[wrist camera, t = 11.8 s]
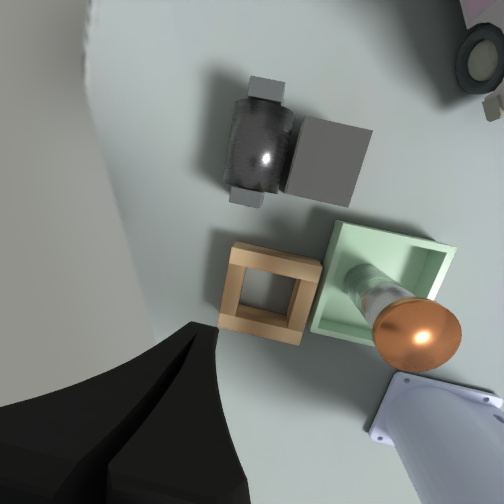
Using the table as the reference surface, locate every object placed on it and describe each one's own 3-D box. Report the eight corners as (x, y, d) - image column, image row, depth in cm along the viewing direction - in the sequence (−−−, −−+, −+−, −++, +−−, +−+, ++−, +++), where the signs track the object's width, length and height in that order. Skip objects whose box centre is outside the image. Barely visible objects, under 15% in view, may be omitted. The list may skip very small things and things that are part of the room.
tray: (436, 241, 19) (457, 247, 16) (395, 338, 21) (408, 355, 19) (335, 219, 19) (343, 223, 17) (306, 317, 21) (309, 331, 19)
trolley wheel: (296, 109, 17) (302, 85, 13) (274, 207, 19) (274, 211, 15) (242, 98, 17) (233, 72, 14) (225, 197, 19) (213, 198, 15)
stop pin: (396, 265, 19) (476, 314, 11) (378, 309, 20) (440, 380, 12) (347, 253, 19) (394, 294, 12) (332, 298, 20) (365, 361, 13)
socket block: (317, 259, 20) (322, 267, 18) (296, 330, 22) (299, 346, 20) (236, 241, 20) (231, 247, 18) (222, 313, 22) (216, 326, 20)
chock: (351, 143, 18) (373, 130, 14) (333, 204, 19) (348, 207, 15) (298, 132, 18) (305, 115, 14) (283, 193, 19) (285, 193, 15)
